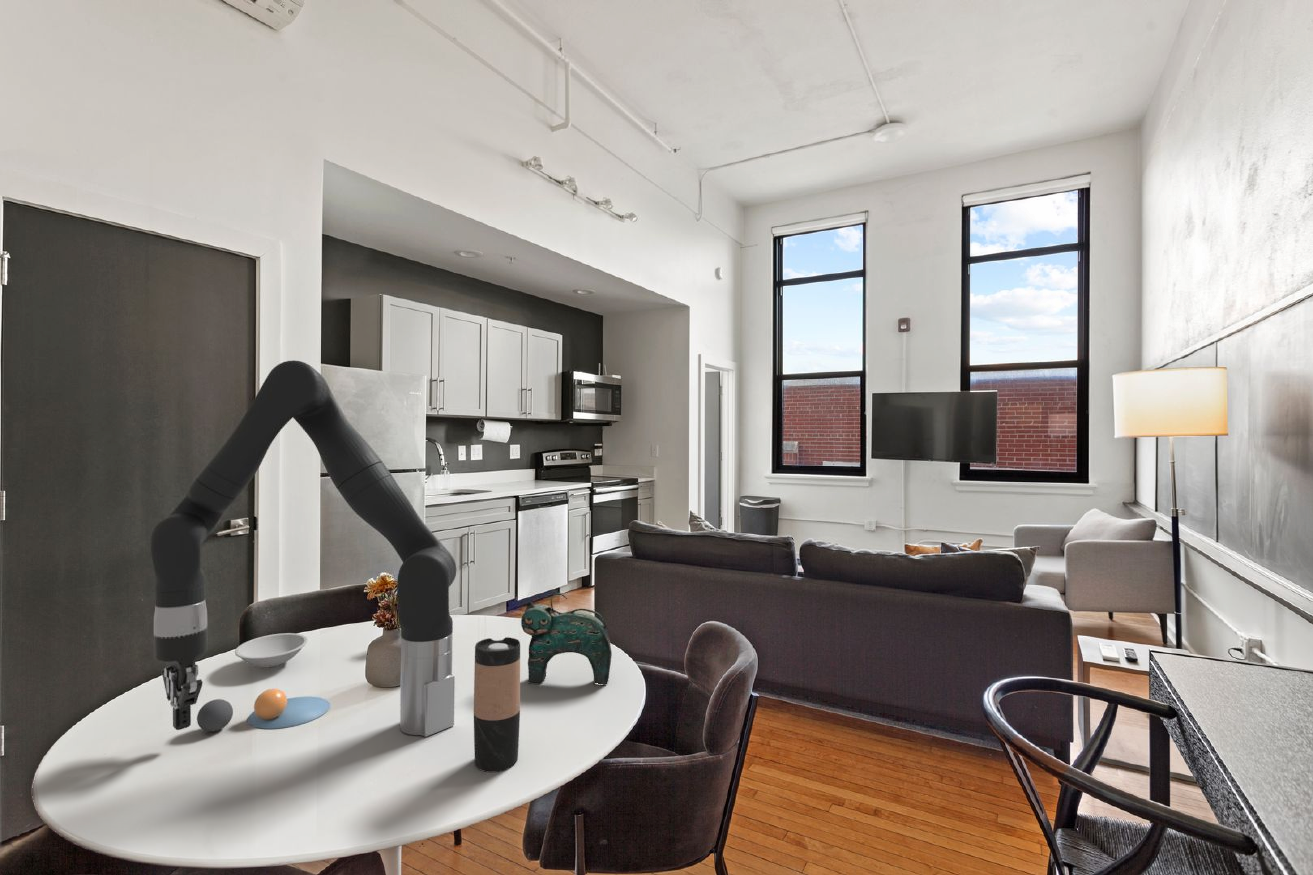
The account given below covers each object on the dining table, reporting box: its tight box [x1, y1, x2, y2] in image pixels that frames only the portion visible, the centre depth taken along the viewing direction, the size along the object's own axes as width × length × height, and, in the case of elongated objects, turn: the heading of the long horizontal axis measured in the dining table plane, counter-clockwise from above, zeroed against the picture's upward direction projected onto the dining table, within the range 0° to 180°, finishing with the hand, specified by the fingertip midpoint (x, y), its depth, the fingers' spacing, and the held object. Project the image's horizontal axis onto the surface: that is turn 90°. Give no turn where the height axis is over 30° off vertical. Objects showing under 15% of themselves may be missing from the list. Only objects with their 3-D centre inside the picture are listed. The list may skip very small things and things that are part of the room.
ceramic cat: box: [520, 592, 613, 684], centre depth 145 cm, size 20×6×20 cm, turn 87°
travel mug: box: [473, 636, 521, 773], centre depth 110 cm, size 8×8×20 cm
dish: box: [234, 632, 309, 668], centre depth 151 cm, size 18×14×5 cm
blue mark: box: [247, 696, 331, 730], centre depth 127 cm, size 14×14×1 cm
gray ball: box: [196, 698, 234, 732], centre depth 119 cm, size 6×6×6 cm
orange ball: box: [253, 688, 288, 720], centre depth 124 cm, size 6×6×6 cm
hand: (181, 727), depth 113 cm, fingers closed
